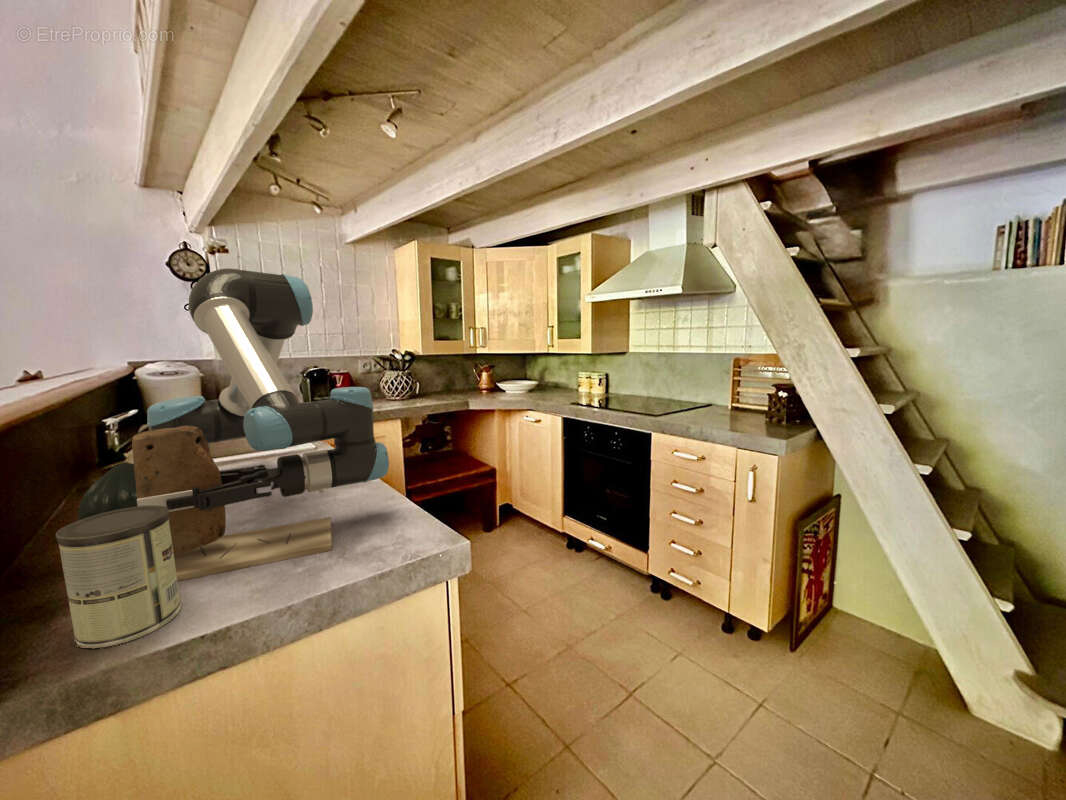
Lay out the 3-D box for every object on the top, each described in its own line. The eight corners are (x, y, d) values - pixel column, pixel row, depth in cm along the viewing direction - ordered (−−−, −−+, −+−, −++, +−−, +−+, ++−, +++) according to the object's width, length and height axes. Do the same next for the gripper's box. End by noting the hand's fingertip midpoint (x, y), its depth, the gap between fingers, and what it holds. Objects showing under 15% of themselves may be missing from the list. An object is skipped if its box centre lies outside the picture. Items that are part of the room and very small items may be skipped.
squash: (150, 523, 75) (169, 448, 83) (42, 538, 71) (73, 458, 79) (189, 547, 86) (202, 479, 94) (97, 561, 82) (119, 489, 90)
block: (145, 564, 65) (127, 436, 63) (143, 548, 71) (127, 430, 68) (230, 541, 73) (217, 426, 70) (223, 528, 78) (211, 421, 76)
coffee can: (75, 623, 56) (59, 520, 54) (177, 591, 63) (165, 499, 61) (70, 664, 49) (50, 546, 47) (185, 622, 56) (172, 518, 54)
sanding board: (156, 552, 76) (155, 546, 75) (330, 521, 88) (330, 516, 87) (122, 592, 63) (122, 585, 63) (331, 550, 75) (331, 544, 75)
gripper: (314, 508, 73) (135, 546, 60) (297, 479, 90) (154, 503, 77) (310, 465, 72) (127, 494, 59) (293, 444, 89) (148, 463, 76)
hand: (142, 499), depth 68 cm, fingers closed on block, 8 cm apart
